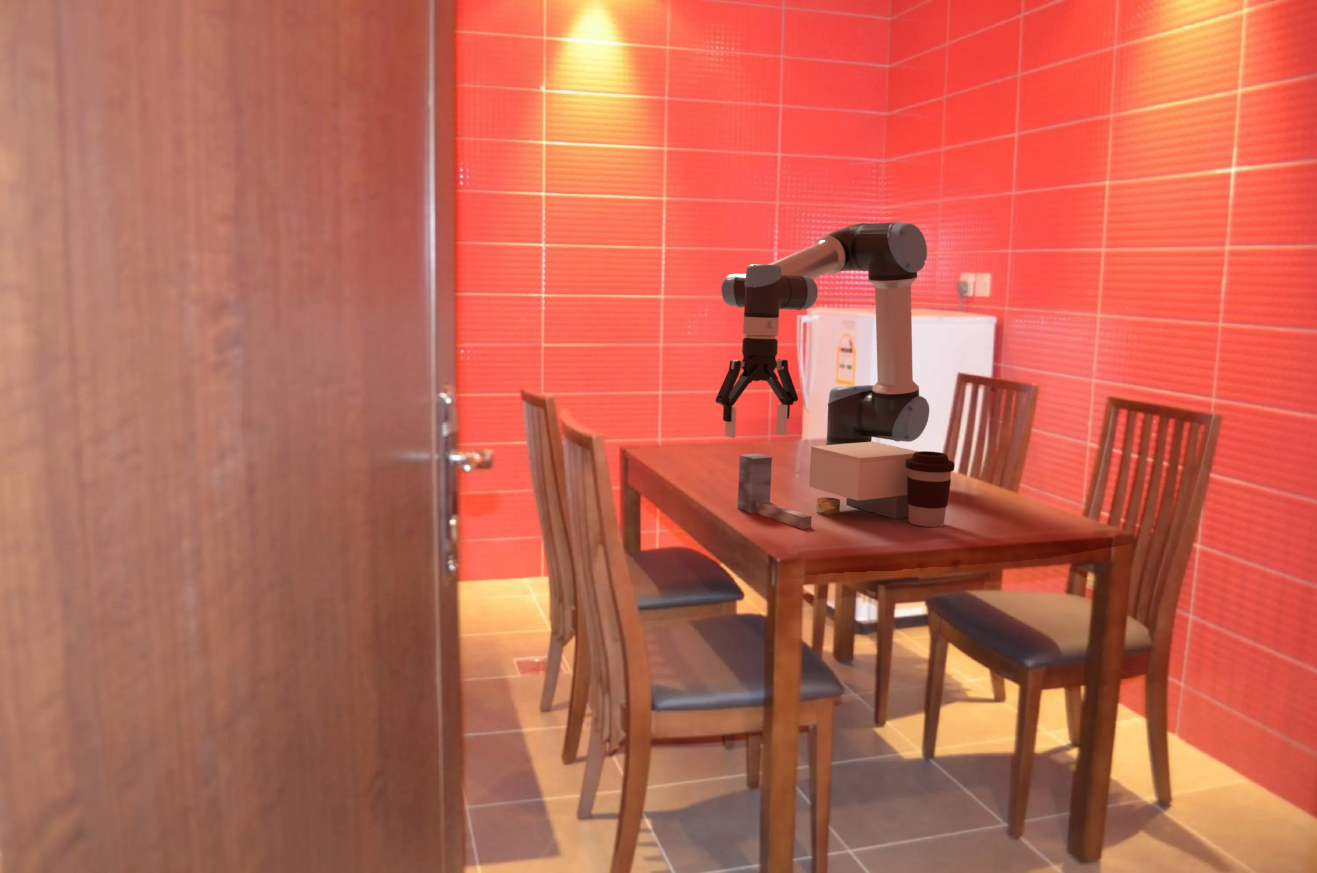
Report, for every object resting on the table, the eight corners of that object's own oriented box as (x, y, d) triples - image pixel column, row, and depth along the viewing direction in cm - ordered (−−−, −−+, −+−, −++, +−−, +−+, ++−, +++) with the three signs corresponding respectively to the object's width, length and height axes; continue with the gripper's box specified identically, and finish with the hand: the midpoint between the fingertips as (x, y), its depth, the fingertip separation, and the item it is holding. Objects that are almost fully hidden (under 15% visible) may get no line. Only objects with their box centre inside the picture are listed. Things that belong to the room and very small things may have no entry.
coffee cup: (917, 530, 216) (921, 458, 214) (893, 519, 226) (897, 450, 224) (959, 528, 219) (964, 457, 217) (934, 517, 229) (939, 449, 226)
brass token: (811, 511, 231) (812, 498, 231) (829, 509, 234) (830, 496, 234) (826, 516, 227) (827, 503, 227) (844, 514, 230) (844, 501, 229)
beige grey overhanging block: (808, 508, 234) (811, 446, 232) (869, 501, 243) (873, 441, 241) (856, 524, 220) (859, 458, 218) (919, 515, 230) (923, 452, 227)
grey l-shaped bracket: (737, 508, 232) (739, 454, 230) (756, 506, 235) (758, 453, 233) (796, 529, 214) (799, 471, 213) (816, 527, 217) (818, 469, 215)
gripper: (721, 338, 216) (717, 440, 219) (817, 338, 229) (812, 435, 232) (701, 336, 222) (698, 435, 226) (795, 336, 235) (791, 430, 238)
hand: (755, 435), depth 229 cm, fingers open, 13 cm apart
